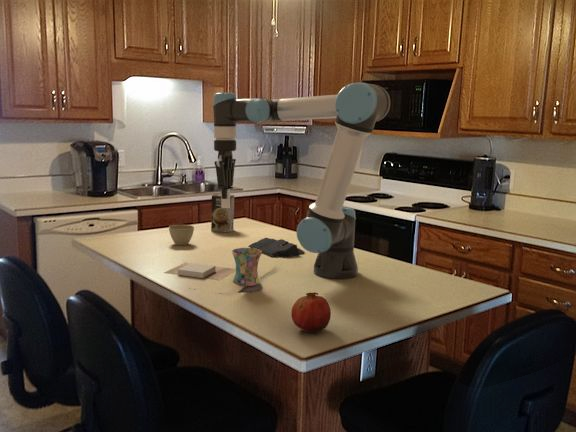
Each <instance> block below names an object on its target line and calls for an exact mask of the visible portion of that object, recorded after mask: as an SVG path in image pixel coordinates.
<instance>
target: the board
mask: <svg viewBox="0 0 576 432" xmlns="http://www.w3.org/2000/svg"><path fill="white" fill-rule="evenodd" d="M190 263H191V262H182V263H181V264H179V265H177V266H175V267H173V268H170V269H169V270H166V271H164V272H163V274H170V275H176V276H178V269H179V268H182V267H184V266H186V265H188V264H190ZM235 272H236V268H230V267H222V266H216V271H215V272H213V273H211V274H209V275H208V276H206V277H204V278H203V279H207V280H215V281H220V280H222V279H224V278H226V277H228V276H229V275H231V274H233V273H235Z"/></svg>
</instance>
